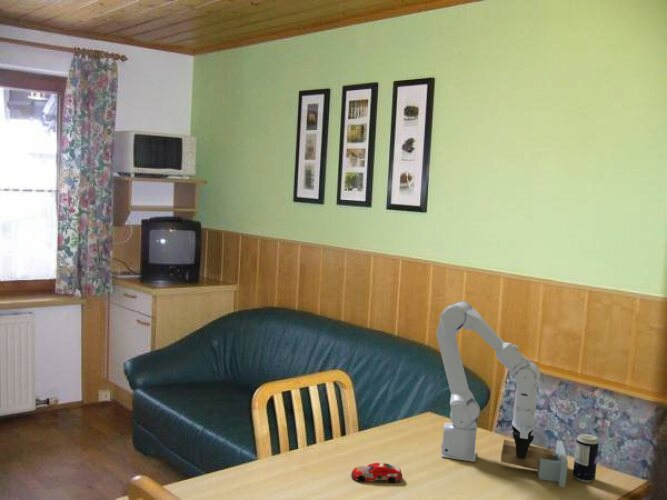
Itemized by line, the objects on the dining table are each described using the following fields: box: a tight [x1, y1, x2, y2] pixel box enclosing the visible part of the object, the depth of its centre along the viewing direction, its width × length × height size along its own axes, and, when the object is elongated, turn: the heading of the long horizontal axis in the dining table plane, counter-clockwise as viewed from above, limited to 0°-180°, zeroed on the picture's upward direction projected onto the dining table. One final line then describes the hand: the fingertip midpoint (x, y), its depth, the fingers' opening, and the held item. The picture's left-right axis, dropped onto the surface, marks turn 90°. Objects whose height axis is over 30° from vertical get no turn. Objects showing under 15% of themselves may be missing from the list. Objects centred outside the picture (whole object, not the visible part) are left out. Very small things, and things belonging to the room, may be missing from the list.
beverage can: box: [572, 432, 600, 483], centre depth 190 cm, size 6×6×12 cm
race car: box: [350, 462, 403, 484], centre depth 181 cm, size 13×5×4 cm, turn 92°
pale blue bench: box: [537, 440, 569, 489], centre depth 192 cm, size 6×16×7 cm, turn 167°
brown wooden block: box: [500, 439, 557, 471], centre depth 193 cm, size 14×4×5 cm, turn 77°
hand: (520, 455), depth 194 cm, fingers closed on brown wooden block, 4 cm apart
